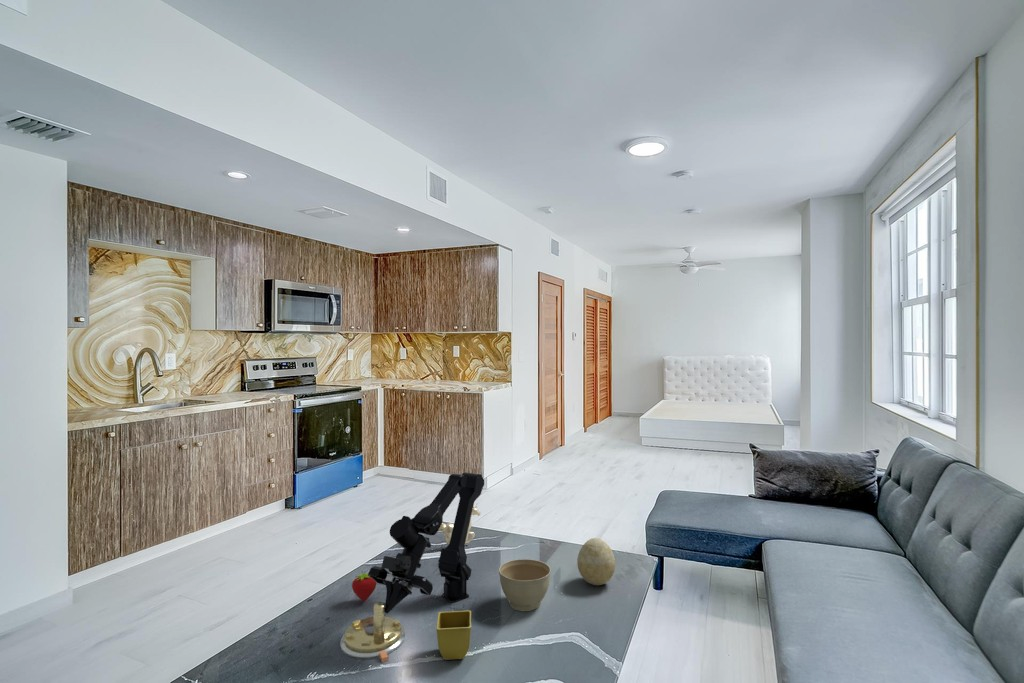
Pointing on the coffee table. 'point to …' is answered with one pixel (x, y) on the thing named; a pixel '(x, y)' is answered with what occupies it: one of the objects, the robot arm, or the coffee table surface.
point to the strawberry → (363, 586)
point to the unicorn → (449, 527)
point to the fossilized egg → (596, 562)
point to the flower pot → (454, 634)
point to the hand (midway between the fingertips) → (385, 612)
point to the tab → (383, 656)
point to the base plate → (370, 630)
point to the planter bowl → (524, 583)
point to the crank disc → (384, 632)
